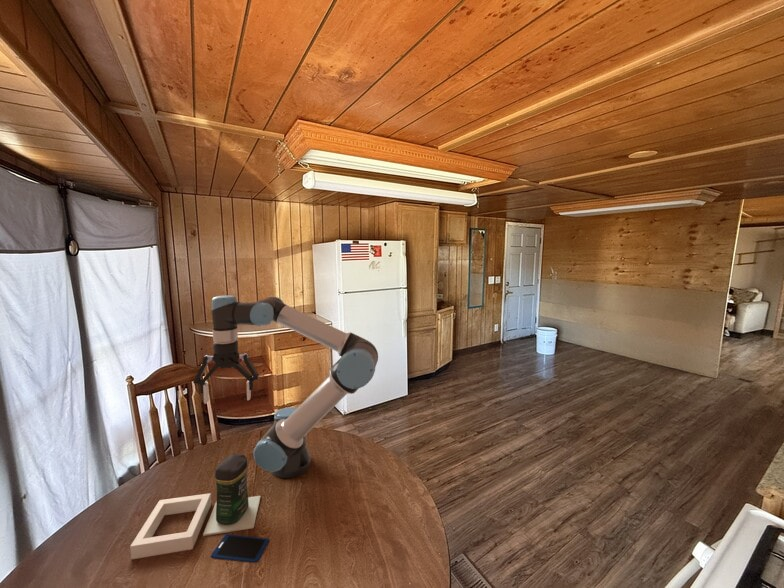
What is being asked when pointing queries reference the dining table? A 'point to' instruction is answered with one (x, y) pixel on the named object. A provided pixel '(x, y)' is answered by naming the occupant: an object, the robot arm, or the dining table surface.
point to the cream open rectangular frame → (172, 542)
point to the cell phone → (240, 548)
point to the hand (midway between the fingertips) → (228, 400)
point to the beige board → (242, 524)
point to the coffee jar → (231, 489)
